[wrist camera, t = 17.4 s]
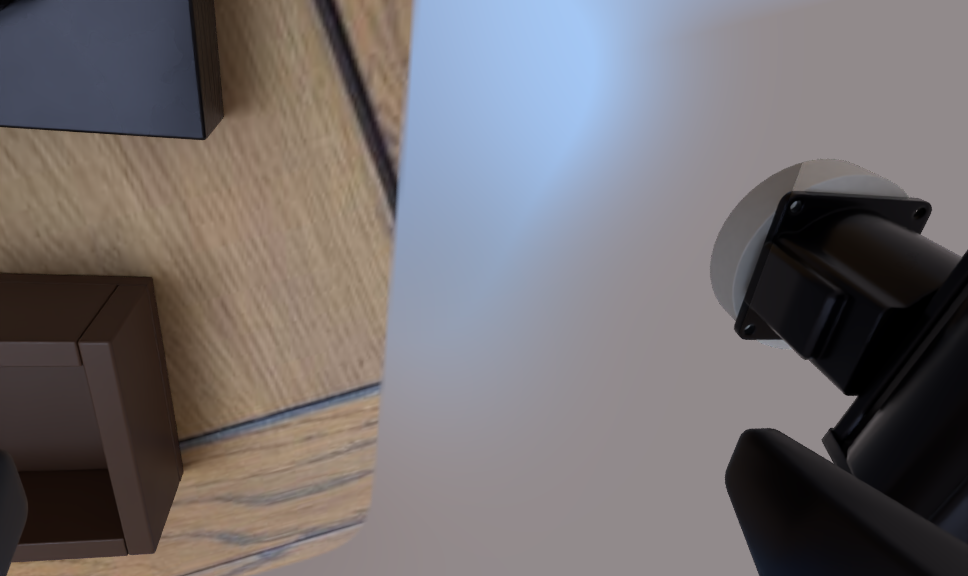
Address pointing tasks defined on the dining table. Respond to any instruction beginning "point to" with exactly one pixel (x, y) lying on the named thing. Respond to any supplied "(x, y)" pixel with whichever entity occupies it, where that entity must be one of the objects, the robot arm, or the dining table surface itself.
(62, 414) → the holder
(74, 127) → the base
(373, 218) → the dining table surface
